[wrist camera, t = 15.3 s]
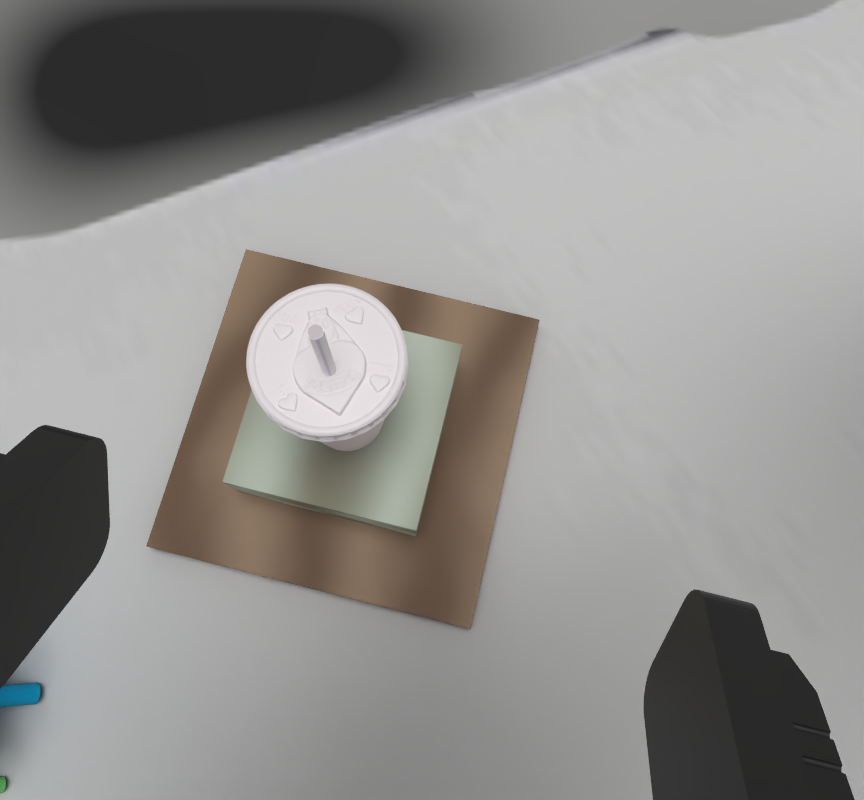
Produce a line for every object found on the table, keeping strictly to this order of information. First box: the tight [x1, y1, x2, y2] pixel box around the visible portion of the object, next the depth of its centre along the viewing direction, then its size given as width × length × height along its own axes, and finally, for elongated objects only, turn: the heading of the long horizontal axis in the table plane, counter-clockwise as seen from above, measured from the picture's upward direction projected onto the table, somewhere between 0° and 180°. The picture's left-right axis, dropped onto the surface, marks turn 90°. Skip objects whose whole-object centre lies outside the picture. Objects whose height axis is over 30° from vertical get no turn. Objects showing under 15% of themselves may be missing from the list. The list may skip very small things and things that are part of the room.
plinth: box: [147, 250, 539, 629], centre depth 41 cm, size 18×18×5 cm
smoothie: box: [246, 284, 409, 451], centre depth 32 cm, size 6×6×14 cm
